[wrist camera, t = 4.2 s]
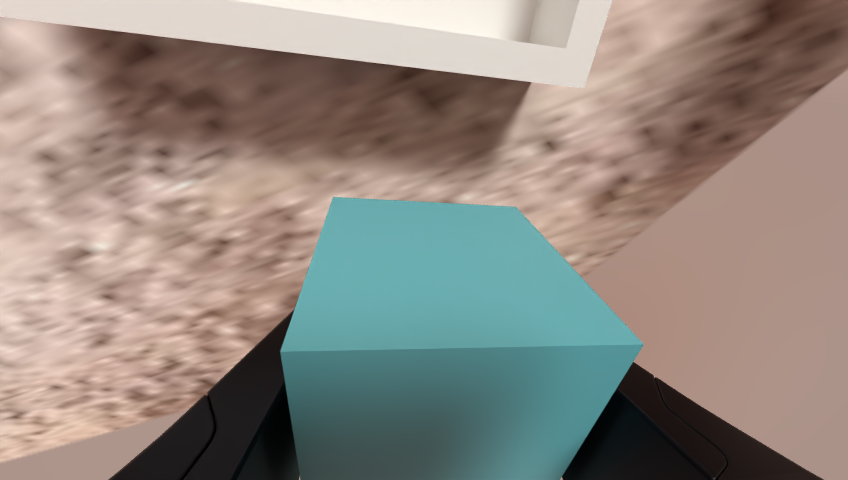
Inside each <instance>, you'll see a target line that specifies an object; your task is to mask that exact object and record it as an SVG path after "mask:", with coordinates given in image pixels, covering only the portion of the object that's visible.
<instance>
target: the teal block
mask: <svg viewBox="0 0 848 480" xmlns="http://www.w3.org/2000/svg"><path fill="white" fill-rule="evenodd" d="M642 347H643V343H642V342H641V341H640V340H639V339H638V338H637V337H636V336H635V334H634V333H633V332H632V331H631V330H630V329H629V328H628V327H627V326H626V325H625V324H624V323H623V322H622V320H620V318H619V317H618V316H617V315H616V314H615V313H614V312H613V311H612V310H611V309H610V308H609V306H608V305H607V304H606V303H605V302H604V301H603V300H602V299H601V298H600V297H599V296H598V295H597V294H596V293H595V291H594V290H593V289H592V288H591V287H590V286H589V285H588V284H587V283H586V282H585V281H584V280H583V278H582V277H581V276H580V275H579V274H578V273H577V272H576V271H575V270H574V269H573V268H572V267H571V266H570V265H569V263H568V262H567V261H566V260H565V259H564V258H563V257H562V256H561V255H560V254H559V253H558V252H557V251H556V249H555V248H554V247H553V246H552V245H551V244H550V243H549V242H548V241H547V240H546V239H545V238H544V237H543V235H542V234H541V233H540V232H539V231H538V230H537V229H536V228H535V227H534V226H533V225H532V224H531V223H530V222H529V220H528V219H527V218H526V217H525V216H524V215H523V214H522V213H521V212H520V211H519V210H518V209H517V208H516V207H507V206H489V205H470V204H452V203H434V202H415V201H397V200H378V199H360V198H341V197H333V199H332V202H331V205H330V208H329V211H328V214H327V217H326V220H325V223H324V225H323V228H322V231H321V234H320V237H319V240H318V243H317V246H316V249H315V252H314V255H313V258H312V260H311V263H310V266H309V269H308V272H307V275H306V278H305V281H304V284H303V287H302V290H301V293H300V295H299V298H298V301H297V304H296V307H295V310H294V313H293V316H292V319H291V322H290V325H289V328H288V330H287V333H286V336H285V339H284V342H283V345H282V348H281V351H280V353H281V360H282V366H283V372H284V379H285V385H286V391H287V397H288V404H289V410H290V416H291V422H292V429H293V435H294V441H295V448H296V454H297V460H298V466H299V473H300V479H301V480H560V479H561V477H562V475H563V474H564V472H565V471H566V469H567V467H568V466H569V464H570V463H571V461H572V459H573V458H574V456H575V454H576V453H577V451H578V450H579V448H580V446H581V445H582V443H583V442H584V440H585V438H586V437H587V435H588V434H589V432H590V430H591V429H592V427H593V425H594V424H595V422H596V421H597V419H598V417H599V416H600V414H601V413H602V411H603V409H604V408H605V406H606V405H607V403H608V401H609V400H610V398H611V396H612V395H613V393H614V392H615V390H616V388H617V387H618V385H619V384H620V382H621V380H622V379H623V377H624V376H625V374H626V372H627V371H628V369H629V368H630V366H631V364H632V363H633V361H634V359H635V357H636V356H637V355H638V353H639V351H640V350H641V348H642Z"/></svg>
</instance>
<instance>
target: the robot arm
mask: <svg viewBox="0 0 848 480" xmlns="http://www.w3.org/2000/svg"><path fill="white" fill-rule="evenodd" d="M294 310H295V309H294ZM294 310H293V311H292V312H291V313H290V314H289V315H288V316H287V317H286V318H284V319H283V320H282V321H281V322H280V323H279V324H278V325H277V326H276V327H275V328H274V329H273V330H272V331H271V332H270V333H269V334H268V335H267V336H266V337H265V338H264V339H263V340H261V341H260V342H259V343H258V344H257V345H256V346H255V347H254V348H253V349H252V350H251V351H250V352H249V353H248V354H247V355H246V356H245V357H244V358H243V359H242V360H241V361H239V362H238V363H237V364H236V365H235V366H234V367H233V368H232V369H231V370H230V371H229V372H228V373H227V374H226V375H225V376H224V377H223V378H222V379H221V380H220V381H219V382H218V383H216V384H215V385H214V386H213V387H212V388H211V389H210V390H209V391H208V393H207V395H208V396H207V395H204V396H203V397H202V398H201V399H200V400H198V401H197V402H196V403H195V404H194V405H193V406H192V407H191V408H190V409H189V410H188V411H187V412H186V413H185V414H184V415H183V416H181V417H180V418H179V419H178V420H177V421H176V422H175V423H174V424H173V425H172V426H171V427H170V428H168V429H167V430H166V431H165V432H164V433H163V434H162V435H161V436H160V437H158V438H157V439H156V440H155V441H154V442H153V443H151V444H150V445H149V446H148V447H147V448H146V449H144V450H143V451H142V452H141V453H140V454H139V455H137V456H136V457H135V458H134V459H133V460H131V461H130V462H129V463H128V464H127V465H126V466H124V467H123V468H122V469H121V470H120V471H118V472H117V473H116V474H115V475H114V476H112V477H111V478H110V479H109V480H299V477H300V473H299V466H298V460H297V454H296V448H295V441H294V435H293V429H292V422H291V416H290V410H289V404H288V397H287V391H286V385H285V379H284V372H283V366H282V360H281V353H280V351H281V348H282V345H283V342H284V339H285V336H286V333H287V330H288V328H289V325H290V322H291V319H292V316H293V313H294ZM562 478H563V480H823V479H822V478H820V477H818V476H816V475H815V474H813V473H811V472H809V471H807V470H806V469H804V468H802V467H801V466H799V465H797V464H796V463H794V462H792V461H791V460H789V459H787V458H786V457H784V456H782V455H780V454H779V453H777V452H776V451H774V450H772V449H771V448H769V447H767V446H766V445H764V444H762V443H761V442H759V441H757V440H756V439H754V438H752V437H751V436H749V435H747V434H746V433H744V432H742V431H741V430H739V429H737V428H736V427H734V426H732V425H731V424H729V423H727V422H726V421H724V420H722V419H721V418H719V417H717V416H716V415H714V414H713V413H711V412H709V411H708V410H706V409H704V408H703V407H701V406H700V405H698V404H696V403H695V402H693V401H692V400H690V399H689V398H687V397H686V396H684V395H682V394H681V393H679V392H678V391H676V390H675V389H673V388H672V387H670V386H669V385H667V384H666V383H664V382H663V381H661V380H660V379H658V378H656V377H655V378H654V376H653V375H652V374H651V373H649V372H648V371H646V370H645V369H643V368H641V367H640V366H639V365H637V364H636V363H634V362H633V363H632V364H631V366H630V368H629V369H628V371H627V372H626V374H625V376H624V377H623V379H622V380H621V382H620V384H619V385H618V387H617V388H616V390H615V392H614V393H613V395H612V396H611V398H610V400H609V401H608V403H607V405H606V406H605V408H604V409H603V411H602V413H601V414H600V416H599V417H598V419H597V421H596V422H595V424H594V425H593V427H592V429H591V430H590V432H589V434H588V435H587V437H586V438H585V440H584V442H583V443H582V445H581V446H580V448H579V450H578V451H577V453H576V454H575V456H574V458H573V459H572V461H571V463H570V464H569V466H568V467H567V469H566V471H565V472H564V474H563V475H562Z"/></svg>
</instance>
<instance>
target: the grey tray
mask: <svg viewBox="0 0 848 480" xmlns="http://www.w3.org/2000/svg"><path fill="white" fill-rule="evenodd" d="M611 3H612V0H0V17H7V18H15V19H23V20H31V21H39V22H47V23H56V24H64V25H72V26H80V27H88V28H96V29H104V30H112V31H121V32H129V33H137V34H145V35H153V36H161V37H169V38H177V39H186V40H194V41H202V42H210V43H218V44H226V45H234V46H242V47H251V48H259V49H267V50H275V51H283V52H291V53H299V54H307V55H316V56H324V57H332V58H340V59H348V60H356V61H364V62H372V63H381V64H389V65H397V66H405V67H413V68H421V69H429V70H437V71H446V72H454V73H462V74H470V75H478V76H486V77H494V78H502V79H511V80H519V81H527V82H535V83H543V84H551V85H559V86H567V87H575V88H585V84H586V81H587V78H588V75H589V72H590V69H591V66H592V62H593V59H594V56H595V53H596V50H597V47H598V44H599V41H600V37H601V34H602V31H603V28H604V25H605V22H606V19H607V16H608V12H609V9H610V6H611Z"/></svg>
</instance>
